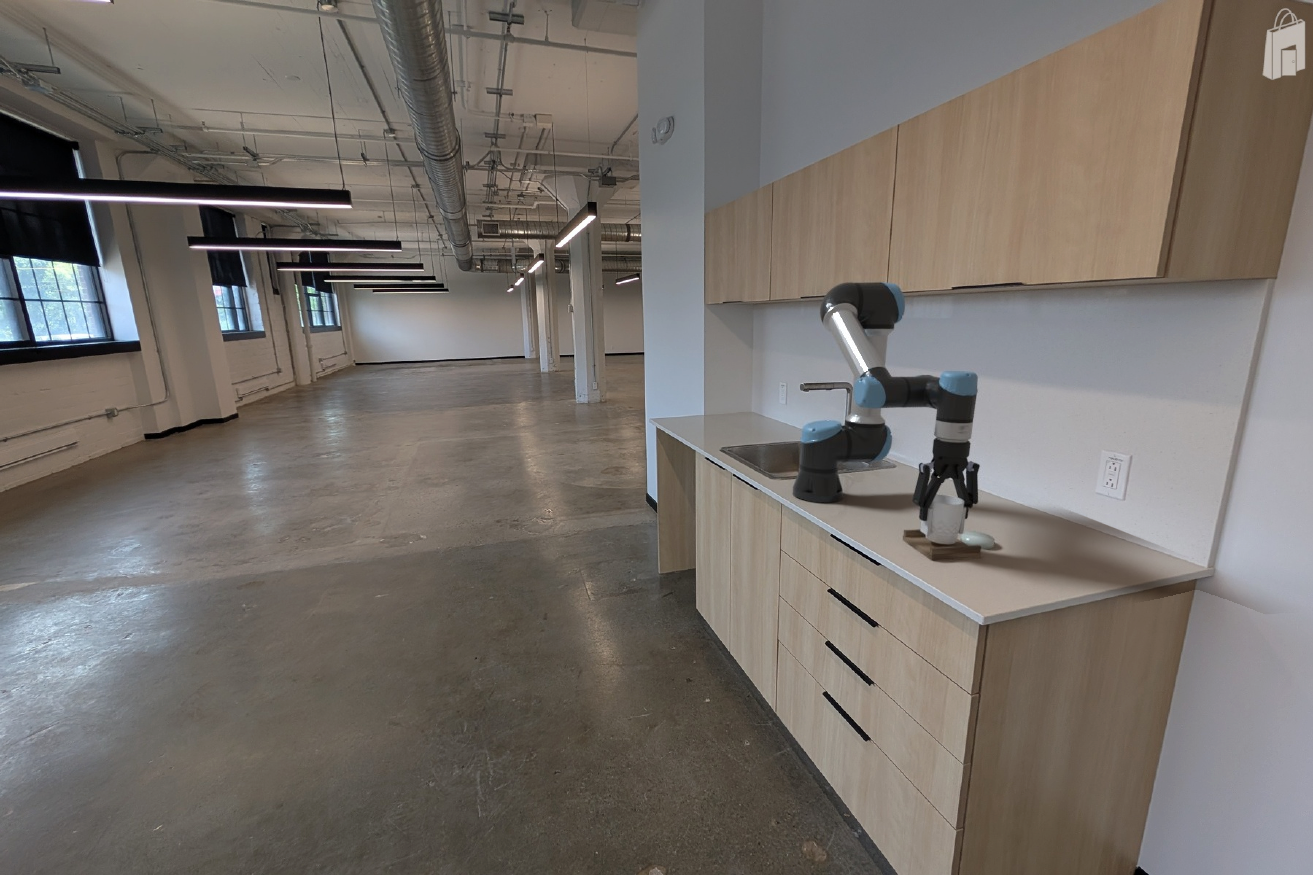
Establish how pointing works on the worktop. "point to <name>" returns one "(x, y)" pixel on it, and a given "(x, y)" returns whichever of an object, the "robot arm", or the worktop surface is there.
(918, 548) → the stand
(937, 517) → the white cup
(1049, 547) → the worktop surface
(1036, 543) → the worktop surface
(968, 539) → the pale mint domed disc
